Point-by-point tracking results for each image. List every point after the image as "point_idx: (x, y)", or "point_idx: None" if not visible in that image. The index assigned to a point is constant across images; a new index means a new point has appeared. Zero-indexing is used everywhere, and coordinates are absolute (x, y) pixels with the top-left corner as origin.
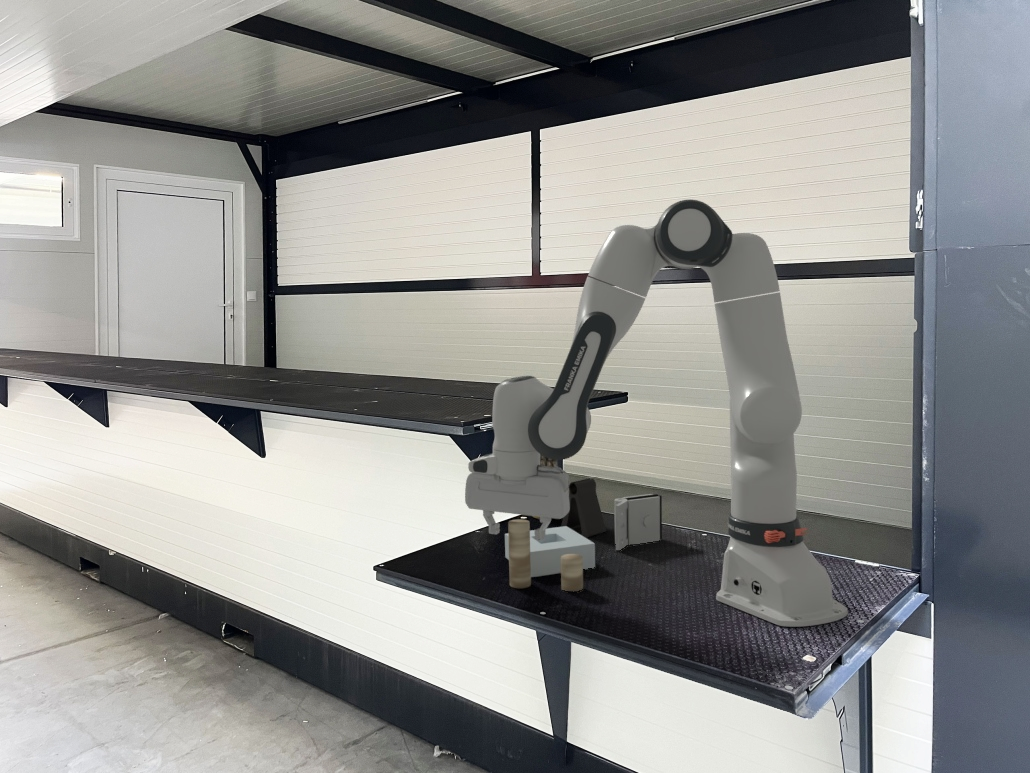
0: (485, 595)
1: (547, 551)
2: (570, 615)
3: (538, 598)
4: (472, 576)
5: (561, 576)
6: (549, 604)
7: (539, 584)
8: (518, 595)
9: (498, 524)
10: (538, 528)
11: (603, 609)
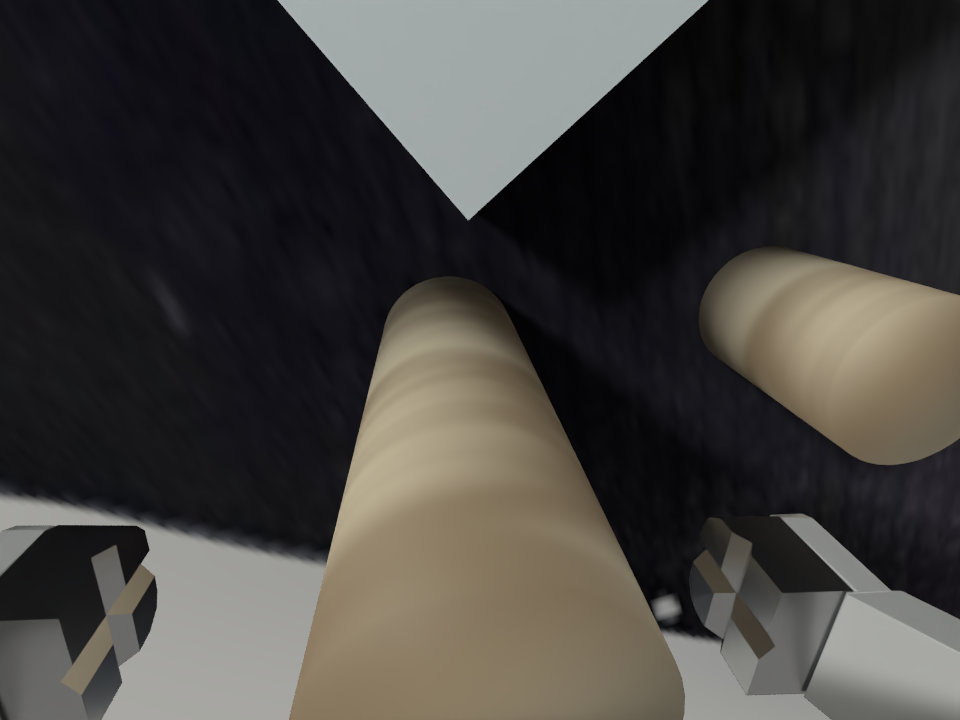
0: None
1: (621, 74)
2: None
3: (609, 484)
4: (72, 296)
5: (746, 370)
6: (676, 528)
7: (558, 298)
8: None
9: (74, 654)
10: (786, 599)
11: (914, 501)
